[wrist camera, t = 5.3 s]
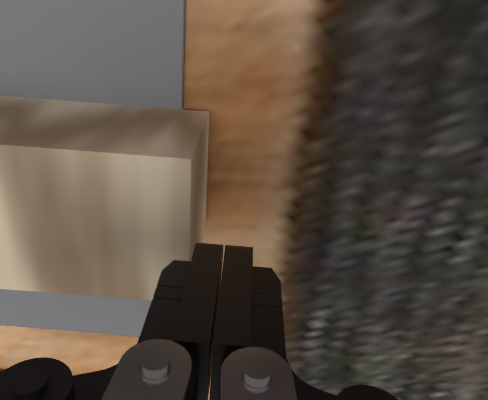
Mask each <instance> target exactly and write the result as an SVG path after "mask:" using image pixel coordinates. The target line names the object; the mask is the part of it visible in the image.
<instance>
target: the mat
mask: <svg viewBox="0 0 488 400" xmlns="http://www.w3.org/2000/svg"><path fill="white" fill-rule="evenodd" d="M184 43H185V0H0V96H13V97H26V98H39V99H52V100H65V101H78V102H91V103H104V104H117V105H131V106H144V107H157V108H170V109H183V90H184ZM151 301H152V300H139V299H126V298H113V297H99V296H86V295H73V294H60V293H46V292H33V291H20V290H7V289H0V325H8V326H19V327H31V328H43V329H55V330H66V331H78V332H90V333H102V334H113V335H125V336H137V337H140V334H141V331H142V328H143V325H144V322H145V319H146V316H147V313H148V310H149V307H150V304H151Z"/></svg>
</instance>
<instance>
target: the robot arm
mask: <svg viewBox="0 0 488 400" xmlns="http://www.w3.org/2000/svg"><path fill="white" fill-rule="evenodd" d="M222 259H223V245H218V244H206V243H196V244H195V247H194V252H193V256H192V260H191V261H181V260H173V261H172V262H171V263H170V264H169V265H168V266H167V267H165V268H164V269H163V270H162V271H161V274H160V277H159V280H158V283H157V288H156V289H155V292H154V295H153V299H152V301H151V304H150V307H149V310H148V313H147V316H146V319H145V322H144V325H143V328H142V331H141V334H140V337H139V340H138V343H137V344H136V345H134V346H133V347H131V348H130V349H129V350H127V351H126V352H125V353H124V355H123V356H122V358H121V359H120V361H119V363H118V364H117V365H115V366H113V367H110V368H107V369H105V370H101V371H96V372H91V373H85V374H80V375H74V376H72V373H71V370H70V369H69V367H68V366H67V365H66V364H64V363H63V362H61V361H59V360H56V359H53V358H33V359H29V360H25V361H22V362H20V363H17V364H15V365H13V366H11V367H9V368H8V369H6V370H4V371H2V372H0V400H208V393H209V385H210V377H211V386H210V400H398V399H396V398H395V397H394V396H392V395H391V394H389V393H388V392H386V391H384V390H382V389H379V388H376V387H373V386H368V385H354V386H351V387H348V388H346V389H344V390H343V391H342V392H340V393H339V395H338V396H335V395H333V394H330V393H327V392H324V391H322V390H319V389H317V388H314V387H312V386H310V385H308V384H307V383H305V382H304V381H302V380H301V379H300V378H299V377H298V376H297V375H296V374H295V373H294V372H293V371H292V369H291V368H290V366H289V364H288V362H287V358H286V350H285V336H284V323H283V310H282V298H281V282H280V280H279V278H278V277H277V275H276V274H275V272H274V271H273V270H272V268H265V267H253V247H243V246H231V245H226V246H225V254H224V262H223V270H222ZM221 273H222V278H221ZM211 369H212V371H211Z"/></svg>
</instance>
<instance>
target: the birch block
mask: <svg viewBox="0 0 488 400" xmlns="http://www.w3.org/2000/svg"><path fill="white" fill-rule="evenodd" d="M208 141H209V111H196V110H183V109H170V108H157V107H144V106H131V105H117V104H104V103H91V102H78V101H65V100H52V99H39V98H26V97H13V96H0V289H7V290H20V291H33V292H46V293H60V294H73V295H86V296H99V297H113V298H126V299H139V300H152V299H153V295H154V292H155V289H156V288H157V283H158V280H159V277H160V274H161V271H162V270H163V269H164V268H165V267H167V266H168V265H169V264H170V263H171V262H172V261H173V260H181V261H191V260H192V256H193V252H194V247H195V244H196V243H202V240H203V236H204V231H205V226H206V198H207V169H208Z"/></svg>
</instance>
